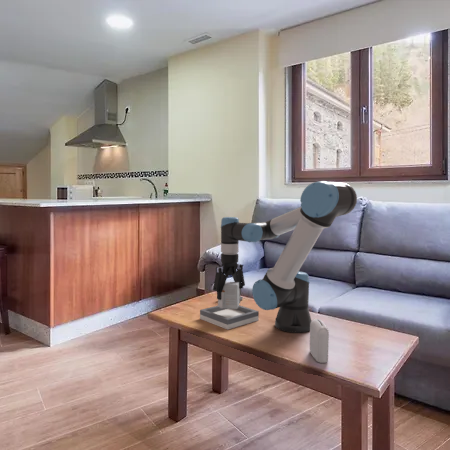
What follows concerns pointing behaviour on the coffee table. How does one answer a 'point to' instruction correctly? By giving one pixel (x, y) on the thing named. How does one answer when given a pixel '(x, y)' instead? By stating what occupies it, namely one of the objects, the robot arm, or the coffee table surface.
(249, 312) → the square gray-rimmed holder
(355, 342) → the coffee table surface
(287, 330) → the robot arm
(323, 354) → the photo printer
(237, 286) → the small box
